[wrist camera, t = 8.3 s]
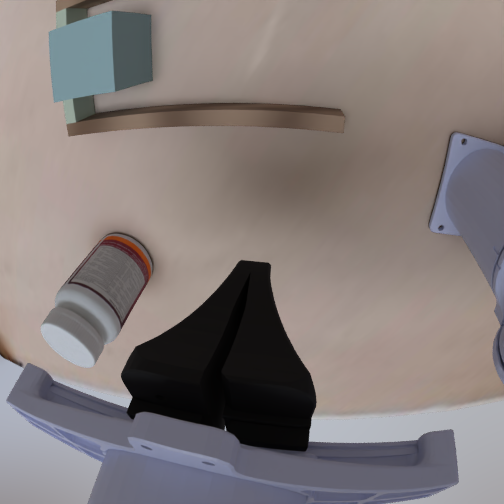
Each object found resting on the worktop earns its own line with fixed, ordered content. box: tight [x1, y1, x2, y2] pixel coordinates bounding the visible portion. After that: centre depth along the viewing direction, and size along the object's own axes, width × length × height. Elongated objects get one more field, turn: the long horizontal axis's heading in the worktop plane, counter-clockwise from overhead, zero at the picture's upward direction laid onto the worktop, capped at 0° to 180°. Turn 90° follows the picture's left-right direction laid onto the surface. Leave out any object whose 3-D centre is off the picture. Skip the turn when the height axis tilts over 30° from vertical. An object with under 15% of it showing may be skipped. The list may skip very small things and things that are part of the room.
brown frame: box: [56, 0, 345, 136], centre depth 14 cm, size 19×16×2 cm
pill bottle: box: [41, 234, 152, 368], centre depth 24 cm, size 6×6×11 cm
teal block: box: [49, 11, 153, 103], centre depth 15 cm, size 5×5×5 cm
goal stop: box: [56, 8, 95, 124], centre depth 17 cm, size 1×9×2 cm, turn 1°
